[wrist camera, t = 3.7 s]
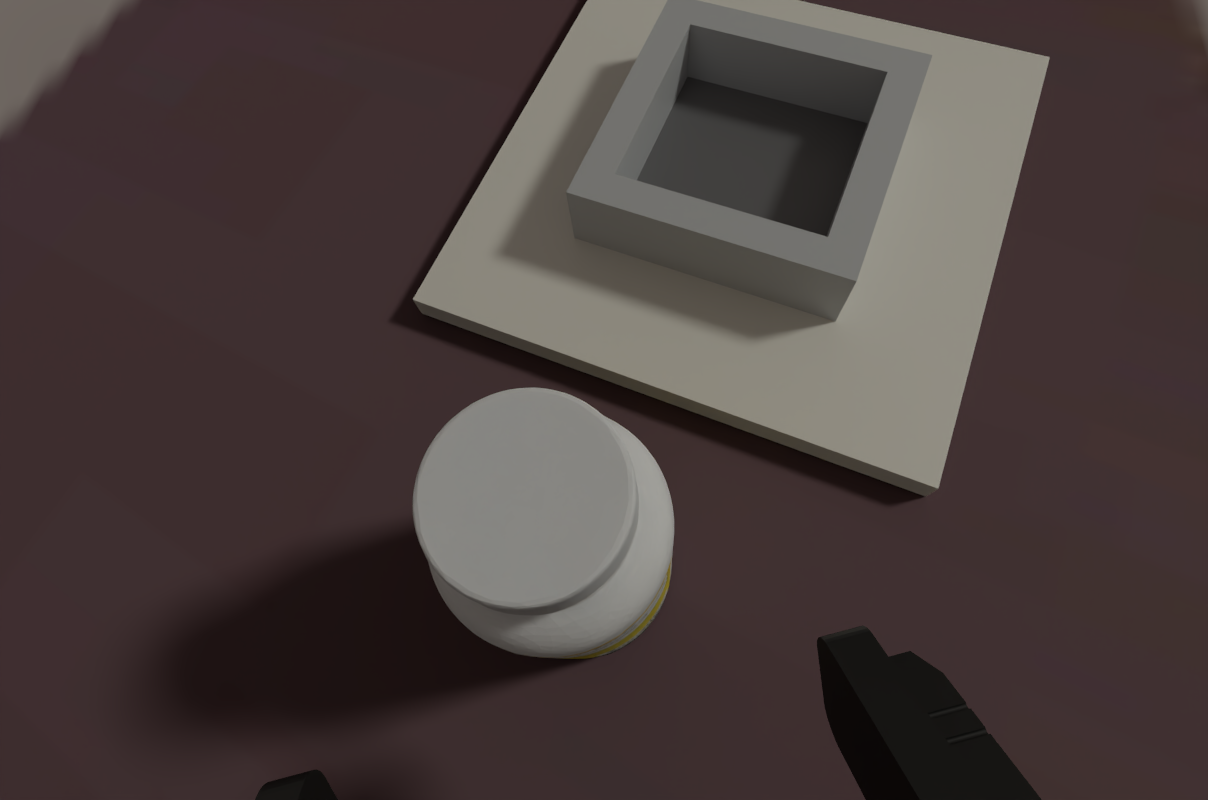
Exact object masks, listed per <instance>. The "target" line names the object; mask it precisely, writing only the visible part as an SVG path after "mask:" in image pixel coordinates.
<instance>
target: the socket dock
mask: <svg viewBox="0 0 1208 800" xmlns="http://www.w3.org/2000/svg"><path fill="white" fill-rule="evenodd" d="M1049 58H1050V57H1046V56H1042V55H1037V54H1033V53H1029V52H1024V51H1020V50H1015V49H1011V48H1006V47H1002V46H998V45H993V44H989V43H984V42H980V41H976V40H971V39H967V38H962V37H958V36H953V35H949V34H945V33H940V32H936V31H931V30H927V29H922V28H918V27H914V26H909V25H905V24H900V23H896V22H891V21H887V20H883V19H878V18H874V17H869V16H865V15H861V14H856V13H852V12H847V11H843V10H838V9H834V8H830V7H825V6H821V5H816V4H812V3H807V2H803V1H799V0H587V2H586V3H585V5H584V7H583V8H582V10H581V12H580V14H579V15H578V17H577V19H576V20H575V22H574V24H573V26H572V27H571V29H570V31H569V32H568V34H567V36H566V38H565V39H564V41H563V43H562V44H561V46H560V48H559V50H558V51H557V53H556V55H555V56H554V58H553V60H552V62H551V63H550V65H549V67H548V68H547V70H546V72H545V74H544V75H543V77H542V79H541V80H540V82H539V84H538V86H537V87H536V89H535V91H534V92H533V94H532V96H531V98H530V99H529V101H528V103H527V104H526V106H525V108H524V110H523V111H522V113H521V115H520V116H519V118H518V120H517V122H516V123H515V125H514V127H513V128H512V130H511V132H510V134H509V135H508V137H507V139H506V140H505V142H504V144H503V146H502V147H501V149H500V151H499V152H498V154H497V156H496V158H495V159H494V161H493V163H492V164H491V166H490V168H489V170H488V171H487V173H486V175H485V176H484V178H483V180H482V182H481V183H480V185H479V187H478V188H477V190H476V192H475V194H474V195H473V197H472V199H471V200H470V202H469V204H468V206H467V207H466V209H465V211H464V212H463V214H462V216H461V218H460V219H459V221H458V223H457V224H456V226H455V228H454V230H453V231H452V233H451V235H450V236H449V238H448V240H447V242H446V243H445V245H444V247H443V248H442V250H441V252H440V253H439V255H438V257H437V259H436V260H435V262H434V264H433V265H432V267H431V269H430V271H429V272H428V274H427V276H426V277H425V279H424V281H423V283H422V284H421V286H420V288H419V289H418V291H417V293H416V295H415V296H414V298H413V301H414V302H415V304H416V305H417V307H418V309H419V310H420V312H421V313H422V314H425V315H427V316H430V317H433V318H436V319H438V320H441V321H444V322H447V323H449V324H452V325H455V326H458V327H460V328H463V329H466V330H469V331H471V332H474V333H477V334H480V335H482V336H485V337H488V338H491V339H493V340H496V341H499V342H502V343H504V344H507V345H510V346H513V347H515V348H518V349H521V350H524V351H526V352H529V353H532V354H535V355H537V356H540V357H543V358H546V359H548V360H551V361H554V362H557V363H559V364H562V365H565V366H568V367H570V368H573V369H576V370H579V371H581V372H584V373H587V374H590V375H592V376H595V377H598V378H601V379H603V380H606V381H609V382H612V383H614V384H617V385H620V386H623V387H625V388H628V389H631V390H634V391H636V392H639V393H642V394H645V395H647V396H650V397H653V398H656V399H658V400H661V401H664V402H667V403H669V404H672V405H675V406H678V407H680V408H683V409H686V410H689V411H691V412H694V413H697V414H700V415H702V416H705V417H708V418H711V419H713V420H716V421H719V422H722V423H724V424H727V425H730V426H733V427H735V428H738V429H741V430H744V431H746V432H749V433H752V434H755V435H757V436H760V437H763V438H766V439H768V440H771V441H774V442H777V443H779V444H782V445H785V446H788V447H790V448H793V449H796V450H799V451H801V452H804V453H807V454H810V455H812V456H815V457H818V458H821V459H823V460H826V461H829V462H832V463H834V464H837V465H840V466H843V467H845V468H848V469H851V470H854V471H856V472H859V473H862V474H865V475H867V476H870V477H873V478H876V479H878V480H881V481H884V482H887V483H889V484H892V485H895V486H898V487H900V488H903V489H906V490H909V491H911V492H914V493H917V494H920V495H922V496H925V497H926V496H927V495H929V494H931V493H932V492H934V491H935V490H937V489H938V488H939V484H940V480H941V476H942V472H943V468H944V464H945V461H946V457H947V453H948V449H949V445H950V441H951V437H952V433H953V430H954V426H955V422H956V418H957V414H958V410H959V406H960V403H961V399H962V395H963V391H964V387H965V383H966V379H967V375H968V372H969V368H970V364H971V360H972V356H973V352H974V348H975V344H976V341H977V337H978V333H979V329H980V325H981V321H982V317H983V314H984V310H985V306H986V302H987V298H988V294H989V290H990V286H991V283H992V279H993V275H994V271H995V267H996V263H997V259H998V256H999V252H1000V248H1001V244H1002V240H1003V236H1004V232H1005V228H1006V225H1007V221H1008V217H1009V213H1010V209H1011V205H1012V201H1013V198H1014V194H1015V190H1016V186H1017V182H1018V178H1019V174H1020V170H1021V167H1022V163H1023V159H1024V155H1025V151H1026V147H1027V143H1028V139H1029V136H1030V132H1031V128H1032V124H1033V120H1034V116H1035V112H1036V109H1037V105H1038V101H1039V97H1040V93H1041V89H1042V85H1043V81H1044V78H1045V74H1046V70H1047V66H1048V62H1049Z"/></svg>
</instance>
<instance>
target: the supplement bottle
mask: <svg viewBox="0 0 1208 800" xmlns="http://www.w3.org/2000/svg"><path fill="white" fill-rule="evenodd" d="M413 519H414V526H415V530H416V534H417V537H418V540H419V543H420V546H421V548H422V550H423V552H424V554H425V556H426V558H427V560H428V563H429V567H430V571H431V574H432V577H433V580H434V582H435V584H436V587H437V589H438V591H439V593H440V595H441V596H442V598H443V600H444V602H445V603H446V605H447V606H448V607H449V609H450V610H451V612H452V613H453V614H454V615H455V616H456V617H457V618H458V620H459V621H460V622H461V623H463V624H464V625H465V626H466V627H467V628H468V629H469V630H471V631H472V632H473V633H474V634H476V635H477V636H479V637H480V638H482V639H483V640H485V641H487V642H488V643H490V644H492V645H495V646H497V647H499V648H501V649H504V650H507V651H509V652H512V653H515V654H519V655H525V656H531V657H540V658H563V659H585V658H593V657H599V656H604V655H608V654H610V653H613V652H615V651H617V650H619V649H621V648H623V647H625V646H626V645H628V644H629V643H631V642H632V641H633V640H635V639H636V638H637V637H639V636H640V635H641V634H642V633H643V632H644V631H645V630H646V629H647V628H648V626H649V625H650V624H651V623H652V621H653V620H654V618H655V617H656V615H657V614H658V612H659V611H660V609H661V607H662V605H663V602H664V600H665V597H666V594H667V591H668V588H669V582H670V575H671V565H672V550H673V540H674V514H673V507H672V501H671V497H670V493H669V490H668V486H667V483H666V480H665V478H664V476H663V474H662V472H661V470H660V468H659V466H658V464H657V463H656V461H655V459H654V458H653V456H652V455H651V454H650V452H649V451H648V450H647V448H646V447H645V446H644V445H643V444H642V443H641V442H640V441H639V440H638V439H637V438H636V437H635V436H634V435H633V434H632V433H631V432H629V431H628V430H627V429H625V428H624V427H622V426H621V425H619V424H618V423H616V422H615V421H613V420H611V419H609V418H607V417H605V416H603V415H602V414H601V413H600V412H598V411H597V410H596V409H595V408H593V407H592V406H590V405H589V404H587V403H586V402H584V401H582V400H580V399H578V398H576V397H574V396H572V395H569V394H566V393H563V392H559V391H555V390H550V389H545V388H517V389H511V390H506V391H502V392H498V393H495V394H492V395H489V396H487V397H485V398H482V399H480V400H478V401H476V402H474V403H472V404H471V405H469V406H468V407H466V408H465V409H463V410H462V411H461V412H459V413H458V414H457V415H456V416H455V417H453V418H452V419H451V420H450V421H449V422H448V423H447V424H446V425H445V426H444V427H443V428H442V429H441V431H440V432H439V433H438V434H437V436H436V437H435V438H434V440H433V441H432V443H431V444H430V446H429V448H428V449H427V451H426V453H425V455H424V458H423V460H422V462H421V464H420V467H419V470H418V473H417V476H416V481H415V486H414V492H413Z"/></svg>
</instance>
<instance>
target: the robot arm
mask: <svg viewBox="0 0 1208 800" xmlns="http://www.w3.org/2000/svg"><path fill="white" fill-rule="evenodd" d="M817 648H818V656H819V664H820V672H821V680H822V688H823V696H824V704H825V710H826V714H827V718H828V721H829V724H830V727H831V730H832V733H833V735H834V738H835V740H836V742H837V745H838V747H839V749H840V751H841V753H842V755H843V756H844V758H845V760H846V762H847V764H848V766H849V768H850V770H851V772H852V774H853V776H854V778H855V780H856V782H857V783H858V785H859V787H860V789H861V791H862V793H863V795H864V797H865V799H866V800H1041V798H1040V797H1039V796H1038V795H1037V793H1036V792H1035V791H1034V789H1033V788H1032V787H1031V786H1030V784H1029V783H1028V782H1027V780H1026V779H1025V778H1024V777H1023V775H1022V774H1021V773H1020V771H1019V770H1018V769H1017V768H1016V766H1015V765H1014V764H1013V762H1012V761H1011V760H1010V759H1009V757H1008V756H1007V755H1006V753H1005V752H1004V751H1003V750H1002V748H1001V747H1000V746H999V744H998V743H997V742H996V741H995V739H994V738H993V737H992V735H991V734H988V733H987V731H986V729H985V726H984V725H983V724H982V723H981V721H980V720H979V719H978V717H977V716H976V715H975V714H974V712H973V711H972V710H971V709H968V707H967V705H966V702H965V701H964V699H963V698H962V697H961V696H960V694H959V693H958V692H957V690H956V689H955V688H954V687H953V685H952V684H951V683H950V681H949V680H948V679H947V678H946V676H945V675H944V674H943V673H942V672H941V671H939V670H938V669H936V668H935V667H933V666H932V665H930V664H929V663H927V662H926V661H924V660H923V659H921V658H920V657H918V656H917V655H915V654H914V653H912V652H911V651H909V652H905V653H901V654H898V655H894V656H890V657H888V656H887V654H886V653H885V651H884V650H883V648H882V647H881V646H880V644H879V643H878V641H877V640H876V638H875V637H874V636H873V634H872V633H871V632H870V630H869V629H868V628H866V627H865V626H860V627H856V628H852V629H848V630H845V631H841V632H837V633H833V634H830V635H826V636H822V637H819V638H818V639H817ZM255 800H338V799H337V798H336V796H335V794H334V792H333V791H332V789H331V787H330V785H329V783H328V782H327V780H326V778H325V776H324V775H323V774H322V773H321V772H320V771H318V770H312V771H308V772H304V773H301V774H297V775H293V776H289V777H286V778H282V779H278V780H274V781H271V782H267V783H266V784H264V785H263V786H262V788H261V789H260V791H259V792H258V795H257V797H256V799H255Z"/></svg>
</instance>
